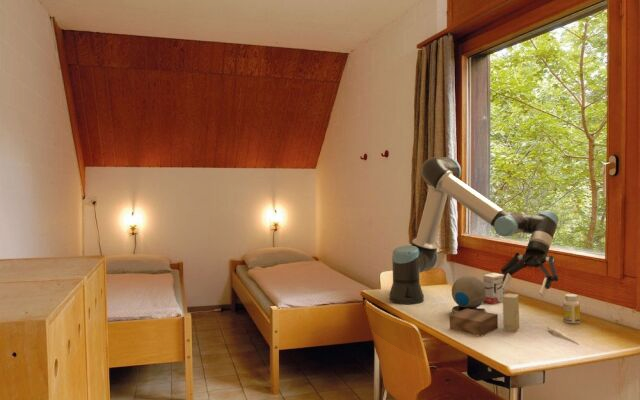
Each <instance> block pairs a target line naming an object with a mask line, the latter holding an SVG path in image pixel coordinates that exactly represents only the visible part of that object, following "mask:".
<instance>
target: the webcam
mask: <svg viewBox="0 0 640 400" xmlns="http://www.w3.org/2000/svg"><path fill="white" fill-rule="evenodd" d="M451 297H452V299H453V301H454V302H455V304H456V305H455V306H453V307H452V309H451V313H452V314H454V313H457V312H459V311H462V310H464V309H467V308H468V309H473V310H478V311H483V312H487V310H486V309H485V307H482V308H481V307H480V306H481V305H482V304H483V303H485V302H484V300H485V297H486V290H485V287H484V282H482V281H481V280H480V279H479V278H478V277H475V276H473V275H464V276H460V277H458V278H457V279H456V280H455V281H454V282H453V284H452V287H451ZM479 307H480V308H479ZM452 314H451V315H452Z"/></svg>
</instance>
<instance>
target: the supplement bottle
mask: <svg viewBox="0 0 640 400" xmlns="http://www.w3.org/2000/svg"><path fill="white" fill-rule="evenodd" d="M564 299H565V300H563V302H562V309H563V310H562V311H563V312H562V314H563V315H562V317H563V321H564V322H565V323H568V324H579V323H580V322H581V317H580V316H581V312H580V311H581V307H580V302H579V301H578V295H577V294H574V293H573V294H572V293H567V294H566V293H565V295H564Z"/></svg>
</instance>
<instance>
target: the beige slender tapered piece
mask: <svg viewBox="0 0 640 400" xmlns="http://www.w3.org/2000/svg"><path fill="white" fill-rule="evenodd" d="M547 329H549V332H550V333H551V334H553V336H555V337H559V338H562V339H564V340H567V341H569V342H571V343H573V344H576V345H580V343H579V342H578V341H576V340H575V339H573V338H571V337H570V336H569V335H567V334H565V333H564V331H562V330H561V329H556V328H554V327H551V326H549V325H548V326H547Z"/></svg>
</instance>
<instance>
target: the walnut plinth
mask: <svg viewBox="0 0 640 400" xmlns="http://www.w3.org/2000/svg"><path fill="white" fill-rule="evenodd" d="M498 323H499V320H498V314H497V313H494V312H493V313H491V312H488V311H486V312H483V311H478V310H473V309H468V308H467V309H464V310H462V311H459V312H457V313H454V314H450V315H449V330H452V331H456V332H461V333H465V334H468V333H469V334H468V335H472V336H477V335H478V337H483V336H485V335H487V334H489V333H491V332H493V331H495V330H497V329H498V328H499V327H498V326H499V325H498ZM482 335H483V336H482Z"/></svg>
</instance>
